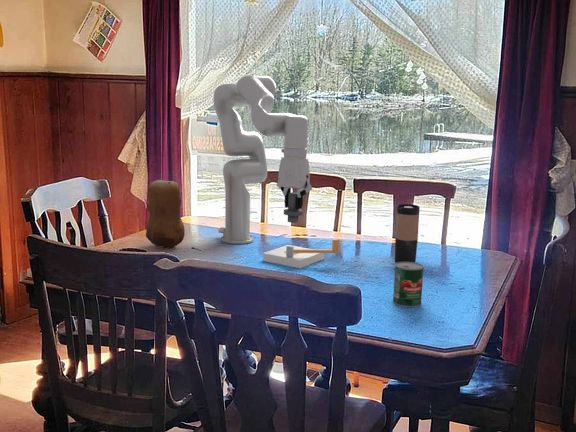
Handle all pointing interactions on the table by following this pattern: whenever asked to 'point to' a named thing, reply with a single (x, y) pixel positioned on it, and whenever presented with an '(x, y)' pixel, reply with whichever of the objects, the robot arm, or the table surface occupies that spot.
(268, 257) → the white square base
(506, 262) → the table surface
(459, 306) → the table surface
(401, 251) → the travel mug
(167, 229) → the butternut squash
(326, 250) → the orange crank handle
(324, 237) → the table surface
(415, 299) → the canned tomato
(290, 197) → the plug
